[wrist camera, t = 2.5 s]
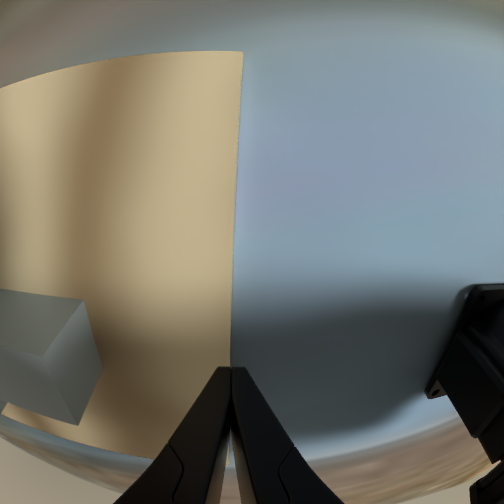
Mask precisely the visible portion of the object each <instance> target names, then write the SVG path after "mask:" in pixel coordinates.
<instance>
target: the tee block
mask: <svg viewBox="0 0 504 504" xmlns="http://www.w3.org/2000/svg"><path fill="white" fill-rule="evenodd" d="M102 370H103V366H102V363H101V360H100V357H99V353H98V350H97V347H96V344H95V340H94V337H93V333H92V330H91V326H90V322H89V318H88V315H87V311H86V307H85V302H84V300H81V299H72V298H64V297H56V296H48V295H41V294H33V293H26V292H20V291H13V290H7V289H1V288H0V415H1V413H2V411H3V409H4V408H5V406H6V404H7V403H8V402H9V403H11V404H13V405H16V406H18V407H21V408H24V409H26V410H29V411H32V412H34V413H37V414H40V415H43V416H46V417H49V418H52V419H55V420H59V421H62V422H65V423H69V424H72V425H76V426H79V423H80V421H81V419H82V416H83V414H84V411H85V409H86V407H87V404H88V402H89V399H90V397H91V395H92V393H93V390H94V388H95V386H96V384H97V381H98V379H99V377H100V375H101V372H102Z"/></svg>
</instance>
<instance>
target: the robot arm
mask: <svg viewBox="0 0 504 504" xmlns="http://www.w3.org/2000/svg"><path fill="white" fill-rule="evenodd" d="M424 392H425V394H426V396H427V398H428V399H433V398H437V397H441V396H445V395H447V396H448V397H449V399H450V401H451V402H452V404H453V406H454V407H455V409H456V411H457V412H458V414H459V416H460V417H461V419H462V421H463V422H464V424H465V426H466V428H467V429H468V431H469V433H470V435H471V436H472V437H473V438H478V439H479V441H480V443H481V445H482V446H483V448H484V450H485V452H486V454H487V456H488V457H489V459H490V461H491V463H492V464H494V463H495V462H497V461H499V460H501V462H500V463H499V464H498V465H497V466H496V467H495V468H494V469H493V470H491V471H490V472H489V473H488V474H487V475H486V476H484V477H483V478H481V479H479V480H478V481H476V482H475V483H474V484H473V485H471V486H470V489H469V490H470V502H471V504H504V285H482V286H477V287H476V288H474V289H473V290H472V292H471V293H470V295H469V297H468V300H467V303H466V305H465V308H464V310H463V313H462V315H461V318H460V320H459V322H458V325H457V327H456V329H455V332H454V334H453V336H452V338H451V340H450V343H449V345H448V347H447V349H446V351H445V353H444V355H443V357H442V359H441V361H440V363H439V365H438V367H437V369H436V371H435V372H434V374H433V376H432V378H431V380H430V382H429V383H428V385H427V387H426V389H425V391H424ZM230 428H231V437H232V445H233V452H234V458H235V465H236V472H237V478H238V484H239V491H240V497H241V503H242V504H344V503H343V502H342V501H341V500H340V499H339V498H338V497H337V496H336V495H335V494H334V493H333V492H332V491H331V490H330V489H329V488H328V487H327V485H326V484H325V483H324V482H323V481H322V480H321V479H320V478H319V477H318V476H317V475H316V473H315V472H314V471H313V470H312V469H311V468H310V466H309V465H308V464H307V462H306V461H305V460H304V458H303V457H302V455H301V454H300V453H299V451H298V450H297V448H296V447H294V444H293V442H292V441H291V439H290V438H289V436H288V435H287V433H286V432H285V430H284V429H283V427H282V425H281V424H280V422H279V421H278V419H277V418H276V416H275V414H274V413H273V411H272V410H271V408H270V407H269V405H268V403H267V402H266V400H265V399H264V397H263V395H262V394H261V392H260V390H259V389H258V387H257V385H256V384H255V382H254V381H253V379H252V377H251V376H250V374H249V372H248V370H247V369H246V368H245V367H232V375H231V367H229V366H218V367H217V368H216V370H215V371H214V373H213V374H212V376H211V377H210V379H209V380H208V382H207V383H206V385H205V387H204V388H203V390H202V391H201V393H200V394H199V396H198V397H197V399H196V400H195V402H194V403H193V405H192V406H191V408H190V409H189V411H188V412H187V414H186V415H185V417H184V418H183V420H182V421H181V423H180V424H179V426H178V427H177V429H176V430H175V432H174V433H173V434H172V436H171V437H170V439H169V440H168V443H167V444H165V446H164V447H163V449H162V450H161V452H160V453H159V454H158V456H157V457H156V458H155V460H154V461H153V462H152V464H151V465H150V466H149V467H148V468H147V469H146V471H145V472H144V473H143V474H142V475H141V476H140V477H139V478H138V479H137V480H136V481H135V482H134V483H133V484H132V485H131V486H130V487H129V488H128V489H127V490H126V491H125V492H124V493H123V494H122V495H121V496H120V497H119V498H118V499H117V500H116V501H115V502H114V503H113V504H219V503H220V497H221V491H222V484H223V478H224V471H225V465H226V458H227V452H228V445H229V439H230Z"/></svg>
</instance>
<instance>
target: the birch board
mask: <svg viewBox="0 0 504 504" xmlns="http://www.w3.org/2000/svg"><path fill="white" fill-rule="evenodd" d="M242 67H243V52H237V51H188V52H169V53H156V54H146V55H137V56H129V57H121V58H115V59H108V60H103V61H97V62H92V63H87V64H82V65H77V66H73V67H69V68H64V69H60V70H56V71H53V72H49V73H45V74H42V75H39V76H35V77H32V78H29V79H26V80H23V81H20V82H17V83H14V84H11V85H8V86H5V87H3V88H0V288H1V289H7V290H13V291H20V292H26V293H33V294H41V295H48V296H56V297H64V298H72V299H81V300H84V302H85V307H86V311H87V315H88V318H89V322H90V326H91V330H92V333H93V337H94V340H95V344H96V347H97V350H98V353H99V357H100V360H101V363H102V366H103V370H102V372H101V375H100V377H99V379H98V381H97V384H96V386H95V388H94V390H93V393H92V395H91V397H90V399H89V402H88V404H87V407H86V409H85V411H84V414H83V416H82V419H81V421H80V423H79V426H76V425H72V424H69V423H65V422H62V421H59V420H55V419H52V418H49V417H46V416H43V415H40V414H37V413H34V412H32V411H29V410H26V409H24V408H21V407H18V406H16V405H13V404H11V403H9V402H8V403H7V404H6V406H5V408H4V409H3V411H2V413H1V414H2V415H5V416H7V417H9V418H11V419H14V420H16V421H18V422H21V423H23V424H26V425H28V426H31V427H33V428H36V429H39V430H41V431H44V432H47V433H50V434H53V435H56V436H59V437H62V438H65V439H68V440H71V441H75V442H78V443H82V444H85V445H89V446H93V447H97V448H101V449H105V450H109V451H114V452H118V453H123V454H128V455H134V456H139V457H145V458H151V459H155V458H156V457H157V456H158V454H159V453H160V452H161V450H162V449H163V447H164V446H165V444H167V443H168V440H169V439H170V437H171V436H172V434H173V433H174V432H175V430H176V429H177V427H178V426H179V424H180V423H181V421H182V420H183V418H184V417H185V415H186V414H187V412H188V411H189V409H190V408H191V406H192V405H193V403H194V402H195V400H196V399H197V397H198V396H199V394H200V393H201V391H202V390H203V388H204V387H205V385H206V383H207V382H208V380H209V379H210V377H211V376H212V374H213V373H214V371H215V370H216V368H217V367H218V366H229V367H230V339H231V300H232V268H233V240H234V215H235V192H236V171H237V151H238V133H239V115H240V98H241V82H242ZM226 465H229V445H228V452H227V458H226Z"/></svg>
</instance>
